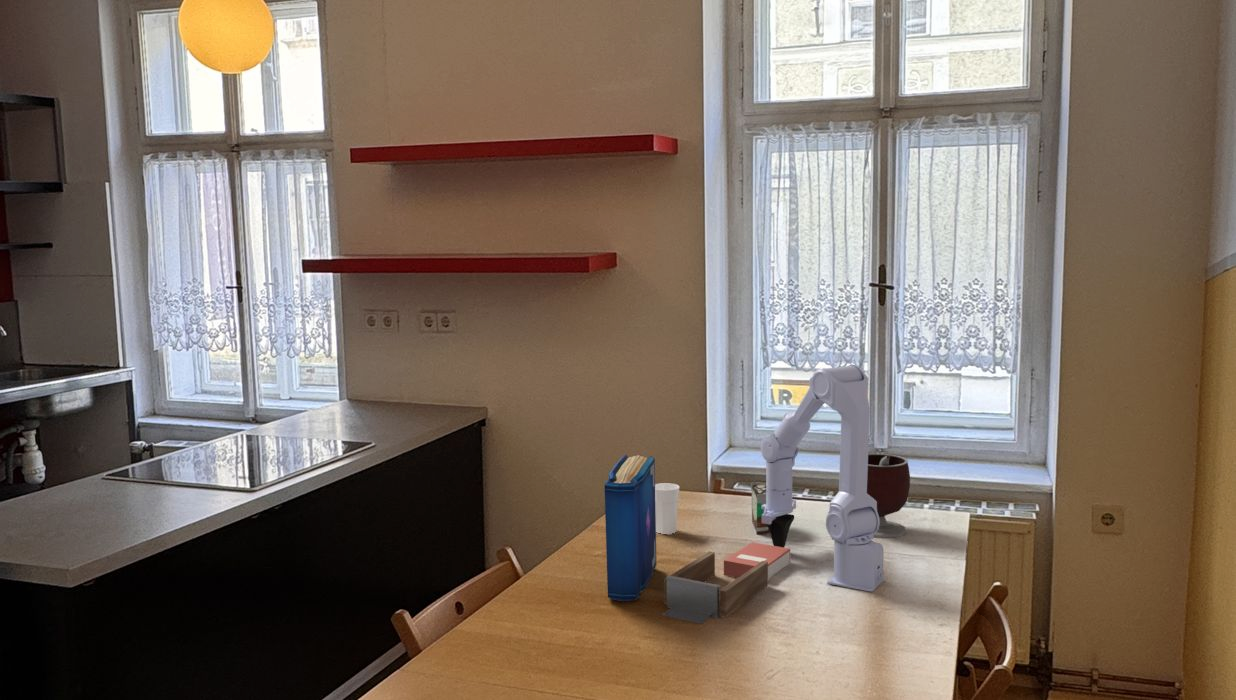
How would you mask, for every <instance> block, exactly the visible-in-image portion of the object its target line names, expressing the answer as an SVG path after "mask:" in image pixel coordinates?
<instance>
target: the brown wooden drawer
mask: <svg viewBox="0 0 1236 700" xmlns="http://www.w3.org/2000/svg"><path fill="white" fill-rule="evenodd" d="M715 555H716V552H714V551H708V552H706V553H704V554H703V555H702V556H700V557H698V558H696V559H695V560H693V561H691V562H690V563H688V564H687V565H685V566H683V567H682V568H680V569H678V570H677V571H675V572H674V573H673V572H672V574H670V576H675V577H680V578H685V579H690V580H695V581H700V582H705V581H706V582H708V581H709V580H710V579H712V578H713V577H715V576H716V567H715V566H716V563H715V562H716V559H715V558H716V556H715ZM708 579H709V580H708ZM706 582H705V583H706ZM768 586H769V579H768V562H766V561H761V562H760V563H759V564H757V565H756V566H754V567H753V568H751V569H750V570H748V571H747V572H746V573H744V574H743V575H741V576H740V577H736V578H735V579H734V580H733V581H731V582H730V583H729V584H727V585H725V586H724V587H722V588H721V589H720V616H719V617H723V618H727V617H728V616H729V615H731V614H732V613H733V612H735V611H736V610H737V609H739V608H741V607H742V606H743V605H745V604H746V603H747V602H748V601H750V600H751V599H752V598H753V597H755V596H756V595H757V594H759V593H760V592H761V591H763V590H765V588H767V587H768ZM663 588H664V589H663V590H664V591H663V594H664V595H663V596H664V598H663V599H664V600H663V601H664V605H666V604H667V577H665V578H664V579H663Z"/></svg>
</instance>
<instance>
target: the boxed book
mask: <svg viewBox="0 0 1236 700" xmlns="http://www.w3.org/2000/svg"><path fill="white" fill-rule="evenodd" d="M761 561H766V562H768V580H769V579H771V577H773V576H775V575H776V573H778V572H779V571H781V570H783V568H785V567H786V566H788V565H789V564H790V563H791V548H788V547H778V546H773V544H772V545H770V544H765V543H760V542H754V541H753V542H752V541H751V542H750V543H748V544H747V545H746V546H743V548H740V549H739V550H738V551H736V552H734V553H733V554H731V555H729V557H726V558H725V559H724V560H723V576H727V577H728V576H729V577H733V576H734V577H735V578H738V577H740V576H741V575H743V574H744V573H746V572H747V571H748V570H750V569H751V568H753V567H754V566H756V565H757V564H759V563H760V562H761Z"/></svg>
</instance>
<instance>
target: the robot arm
mask: <svg viewBox="0 0 1236 700" xmlns="http://www.w3.org/2000/svg"><path fill="white" fill-rule="evenodd" d="M808 384H809V385H808V386H809V388H808V389H807V391H806V393H805V394H804V396H803V398H802V400H801V401H800V403H799V404H798V406H797V408H796V409H795V411H794V410H792V411H790V412H786V413H784V415H783V419H782V421H781V422H780V423H779V424H778V426H777V427H776V428H775V429H774V432H773V433H771V434H769V435H764V436H763V438H762V440H761V442H760V453H761V456H762V457H763V459H764V460H765V462H766V463H765V466H766V467H765V470H766V471H765V473H766V474H765V476H766V477H765V479H766V481H765V483H766V504H764V505H762V506H761V508H762V509H765V510H764V513H763V514H762V523H763V524H766V525H767V526H768V529H769V531H770V533H769V534H770V538H771V542H772V546H778V547H784V548H786V543H787V539H788V534H789V532H790V531H789V530H790V528H791V525H792V523H793V522H794V519H795V515H794V514H792V513H793V512H794V510H795V509H796V508H797V500H796V499H793V467H794V466H795V464H796V463H795V460H796V458H797V456H798V454H799V453H798V452H799V447H798V446H799V444H800V442H801V441H802V440H803V439H804V437H805V436H806V434H807V433H808V432H809V431H810V429H811V423H810V421H811V419H813V417H814V416H815V415H816V414H817V412H818V411H820V409H821V408H822V407H823V406H824V404H825V405H826V406H827V407H829V408H831V409H832V410H833V411H835V412H837V413H838V414H839V415H840V418H841V419H840V444H839V445H840V446H839V447H840V448H839V450H840V451H839V475H838V492H837V494H836V495H835V496H833V498H832V499H831V501H830V502H829V509H828V512H827V515H826V517H825V527H826V528H825V529H826V530H827V533H828V534H829V537H830V538H831V540H832V541H833V542H834V544H833V547H834V548H833V551H834V552H833V576H831V577H830V578H829V579H828V580H826V584H829V585H833V586H838V587H843V588H844V587H845V588H849V589H850V588H851V589H855V590H861V591H865V592H873V591H874V590H876V588H878V587H879V586H880V585H881V584H882V582H884V581H885V577H884V555H885V554H884V548H883V545H882V544H881V543H878V542H876V541H873V539H874V537H873V534H874V533H875V532H877V530H878V528H879V524H880V520H879V515H878V512H877V501H876V500H875V499H874V498H872V497H871V496H870V495H868V494H867V472H868V454H869V443H870V441H869V440H870V418H871V417H870V415H871V414H870V413H871V410H870V409H871V408H870V407H871V406H870V403H869V399H868V397H869V396H868V395H869V377H868V375H867V374H866V373H865V372H864V370H863V369H862V368H861V367H860V366H858V365H856V364H849V365H845V366H837V367H836V366H835V367H828V368H825V367H820V368H818V369H816V370H815V371H814V372H813V374H812V376H811V377H810V378H809V380H808Z"/></svg>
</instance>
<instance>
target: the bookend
mask: <svg viewBox="0 0 1236 700" xmlns="http://www.w3.org/2000/svg"><path fill="white" fill-rule="evenodd" d="M670 575H671V574H670ZM670 575H667V576H666V578H667V605H666V607H667V608H668V610H667V611H665V612H663V613H662V617H663V616H664V617H668V618H673V619H676V620H682V621H685V622H691V623H695V624H700V625H701V624H703V623H704V622H705V621H706V620H708V619H710V618H716V619H718V618H720V617H721V616H720V590H721V589H720V588H721V587H720V585H718V584H714V583H709V582H700V581H695V580H690V579H685V578H680V577H675V576H670Z"/></svg>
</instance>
